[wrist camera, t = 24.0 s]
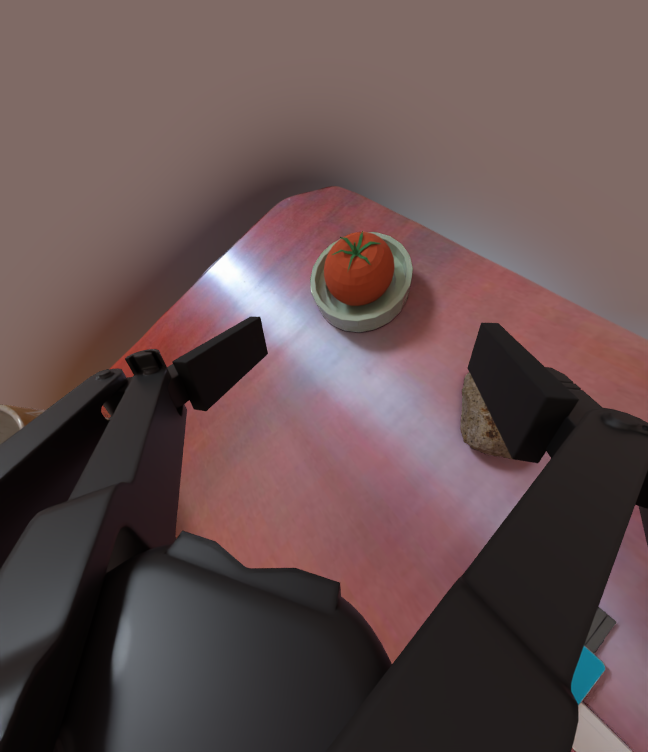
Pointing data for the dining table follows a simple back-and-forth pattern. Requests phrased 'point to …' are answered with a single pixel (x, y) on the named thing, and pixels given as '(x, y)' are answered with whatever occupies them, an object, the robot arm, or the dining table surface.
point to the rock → (479, 423)
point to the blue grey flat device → (593, 737)
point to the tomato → (359, 268)
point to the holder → (373, 312)
